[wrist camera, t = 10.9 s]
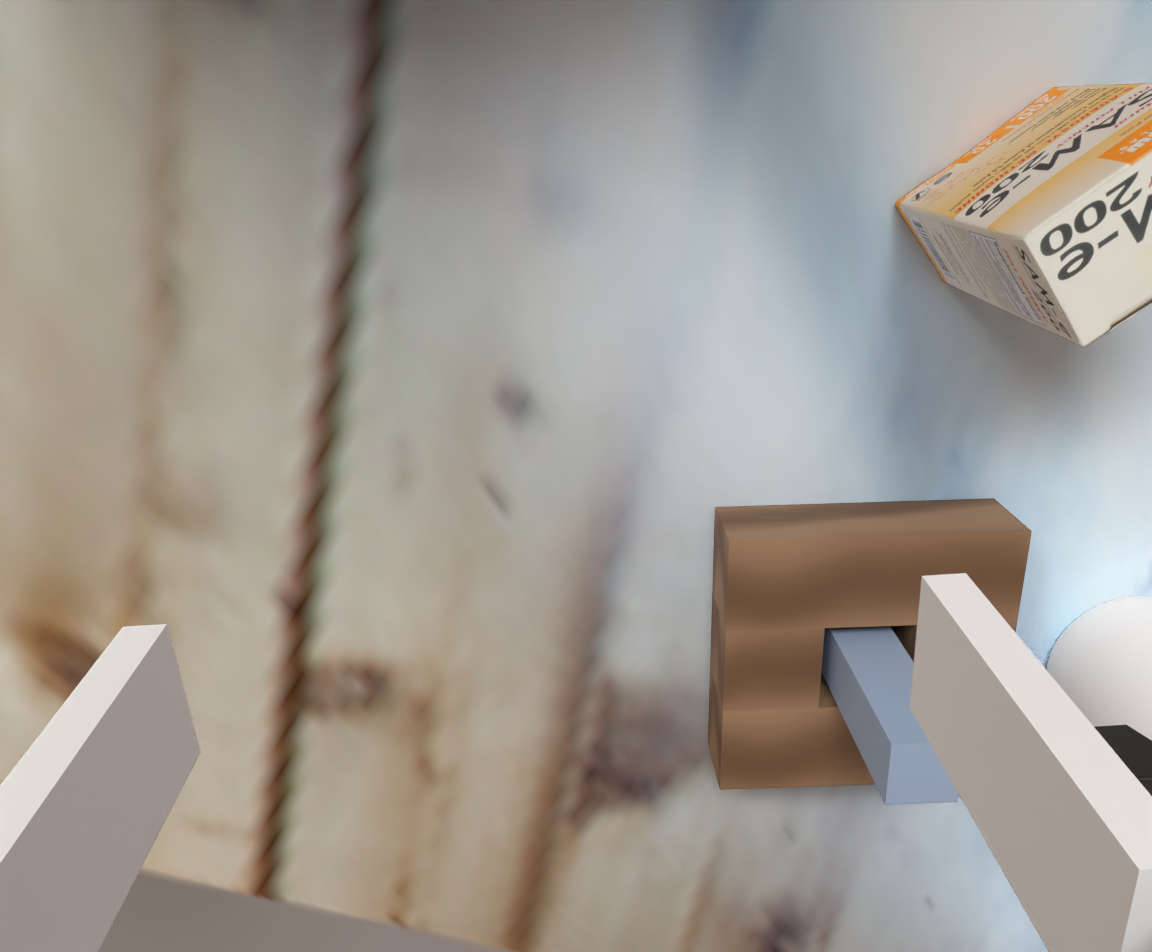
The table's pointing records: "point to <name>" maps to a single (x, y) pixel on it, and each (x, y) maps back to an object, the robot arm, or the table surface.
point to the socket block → (829, 618)
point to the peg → (883, 714)
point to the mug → (1109, 663)
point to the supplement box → (1050, 212)
